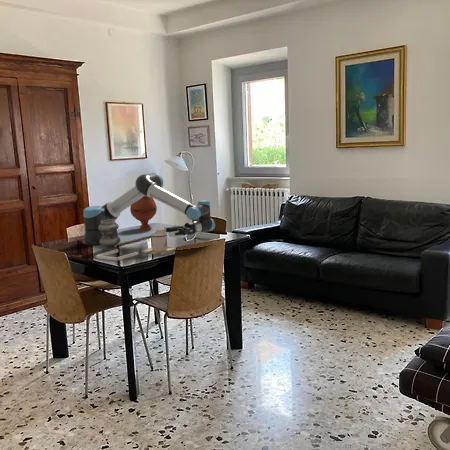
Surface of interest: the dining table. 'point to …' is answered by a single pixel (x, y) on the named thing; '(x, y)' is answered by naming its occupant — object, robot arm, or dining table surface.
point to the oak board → (150, 251)
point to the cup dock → (103, 256)
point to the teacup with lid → (159, 241)
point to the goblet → (144, 211)
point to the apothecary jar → (109, 235)
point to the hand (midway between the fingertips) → (162, 233)
